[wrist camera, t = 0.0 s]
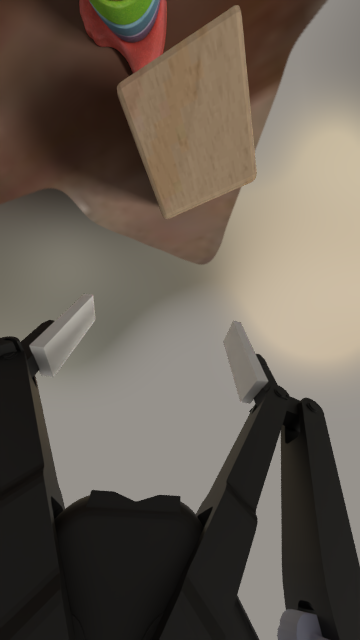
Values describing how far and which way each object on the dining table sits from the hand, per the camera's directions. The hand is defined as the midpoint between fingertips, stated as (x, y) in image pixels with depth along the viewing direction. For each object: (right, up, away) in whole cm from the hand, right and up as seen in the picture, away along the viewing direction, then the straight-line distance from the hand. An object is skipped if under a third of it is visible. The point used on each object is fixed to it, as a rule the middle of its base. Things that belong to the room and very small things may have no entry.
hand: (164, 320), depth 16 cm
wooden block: (+3, +28, +15) cm, 32 cm away
